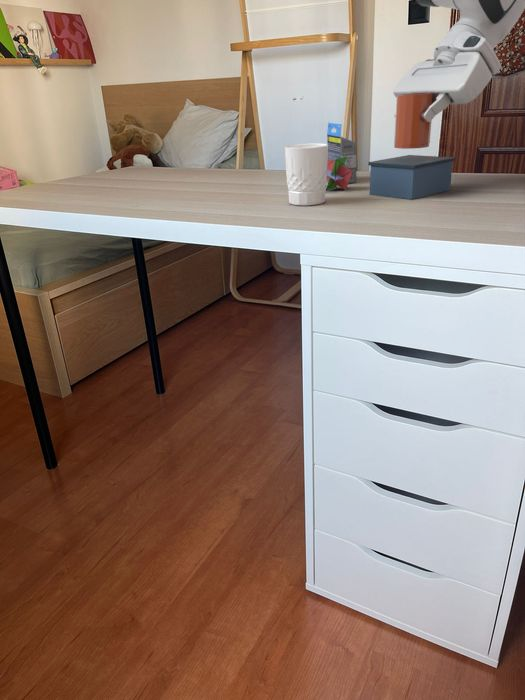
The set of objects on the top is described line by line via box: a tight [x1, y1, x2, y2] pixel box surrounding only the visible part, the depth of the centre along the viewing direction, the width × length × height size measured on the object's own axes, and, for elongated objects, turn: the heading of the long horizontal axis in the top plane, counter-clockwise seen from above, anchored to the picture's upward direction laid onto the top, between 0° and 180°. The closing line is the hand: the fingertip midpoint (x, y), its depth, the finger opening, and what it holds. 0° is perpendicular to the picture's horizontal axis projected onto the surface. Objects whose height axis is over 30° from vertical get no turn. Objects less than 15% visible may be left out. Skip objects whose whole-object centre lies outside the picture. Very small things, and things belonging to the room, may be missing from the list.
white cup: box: [283, 142, 328, 207], centre depth 97 cm, size 8×8×10 cm
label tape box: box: [326, 121, 358, 184], centre depth 117 cm, size 9×4×12 cm, turn 13°
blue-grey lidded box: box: [367, 154, 456, 200], centre depth 102 cm, size 13×11×6 cm
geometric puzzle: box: [325, 156, 353, 192], centre depth 108 cm, size 7×7×8 cm
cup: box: [393, 93, 434, 150], centre depth 98 cm, size 6×6×9 cm
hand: (410, 118), depth 98 cm, fingers closed on cup, 6 cm apart
